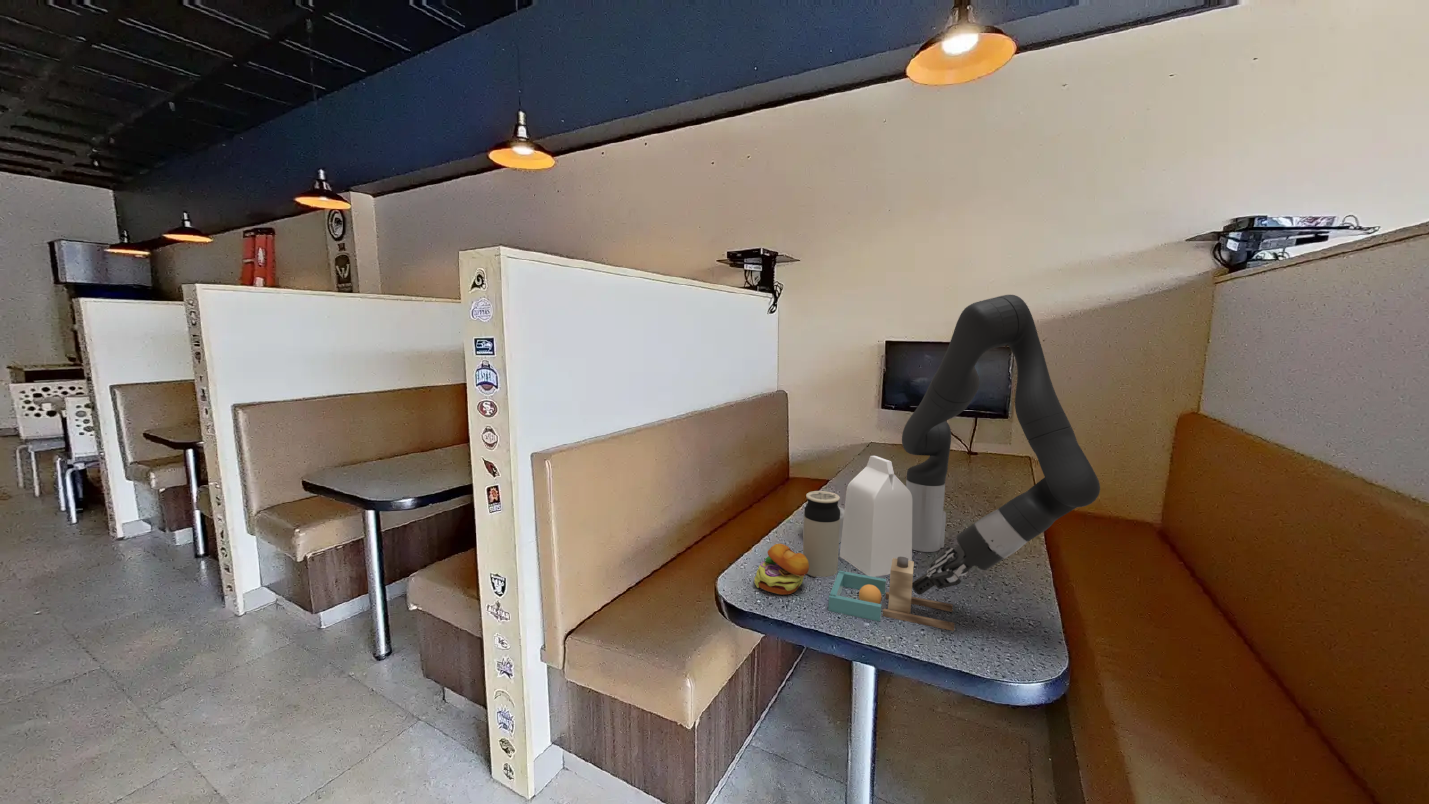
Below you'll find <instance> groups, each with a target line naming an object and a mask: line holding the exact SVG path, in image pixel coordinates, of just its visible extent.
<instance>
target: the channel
mask: <svg viewBox="0 0 1429 804" xmlns="http://www.w3.org/2000/svg"><path fill="white" fill-rule="evenodd" d="M885 600H889V591H885ZM911 605H917V606H921V607H925V608H930V609H931V608H932V609H935V610H942V611H946V612H949V613H950V612H951V613H953V610H954V609H953V608H954V604H953V603H946V602H942V601H937V600H931V599H926V598H923V597H922V598H921V597H915V596H912V597H911ZM882 617H886V618H891V619H894V620H899V621H905V622H909V623H913V624H919V625H924V626H928V627H934V628H937V629H938V628H939V629H942V630H947V631H952V632H955V622H952V621H946V620H942V619H936V618H932V617H927V616H922V615H916V614H913V613H910V614H908V613H903V612H898V611H893V610H888V608H883V609H882Z"/></svg>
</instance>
